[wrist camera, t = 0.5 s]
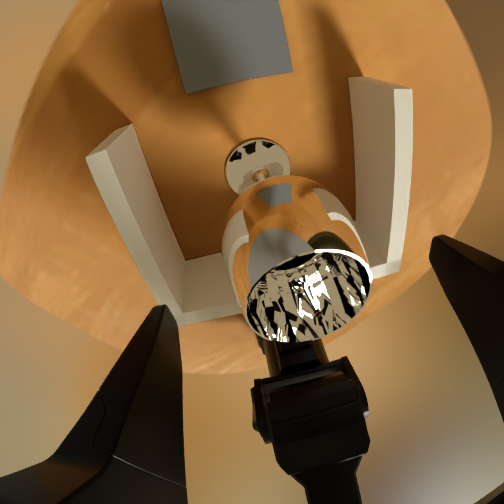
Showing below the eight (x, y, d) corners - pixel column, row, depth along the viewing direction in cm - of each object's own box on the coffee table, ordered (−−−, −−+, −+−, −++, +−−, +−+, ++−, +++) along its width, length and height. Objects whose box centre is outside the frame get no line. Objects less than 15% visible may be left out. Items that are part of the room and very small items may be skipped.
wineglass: (197, 169, 19) (189, 308, 9) (264, 111, 17) (341, 195, 8) (252, 222, 22) (290, 365, 12) (315, 173, 20) (404, 295, 11)
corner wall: (367, 229, 24) (398, 271, 19) (176, 275, 24) (172, 327, 20) (363, 76, 16) (412, 88, 12) (115, 129, 16) (84, 157, 12)
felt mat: (291, 71, 16) (293, 72, 15) (186, 93, 16) (185, 94, 15) (271, -20, 12) (273, -22, 11) (162, 1, 12) (161, 0, 11)
